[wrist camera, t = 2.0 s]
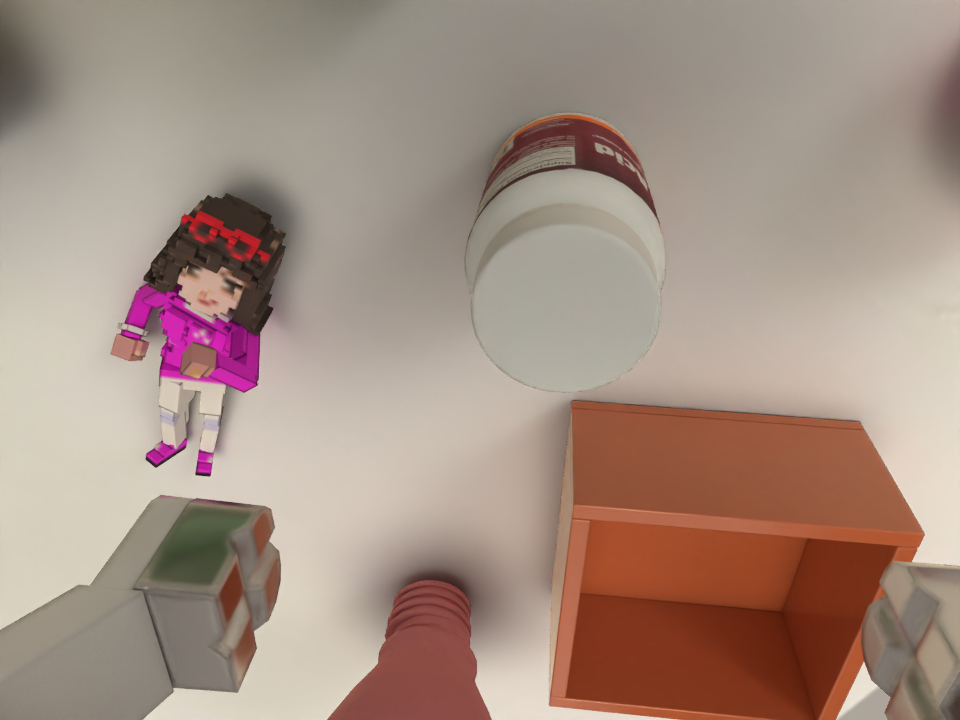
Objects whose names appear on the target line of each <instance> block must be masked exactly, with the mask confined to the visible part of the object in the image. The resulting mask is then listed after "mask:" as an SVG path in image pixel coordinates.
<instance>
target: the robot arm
mask: <svg viewBox="0 0 960 720" xmlns="http://www.w3.org/2000/svg"><path fill="white" fill-rule="evenodd" d="M274 528H275V525H274V521H273V516H272V511H271V509H270V508H268V507H266V506H260V505H251V504H242V503H233V502H224V501H215V500H207V499H198V498H196V499H190V498H182V497H173V496H165V495H160V496H159V497H157V498H155V499H154V500H152V501H151V502H150V503H149V504H148V506H147V507H146V508H145V510H144V511H143V512H142V514H141V515H140V517H139V518H138V519H137V521H136V522H135V524H134V525H133V526H132V528H131V529H130V530H129V532H128V533H127V535H126V536H125V537H124V539H123V540H122V542H121V543H120V544H119V546H118V547H117V549H116V550H115V551H114V553H113V554H112V555H111V557H110V558H109V560H108V561H107V562H106V564H105V565H104V567H103V568H102V569H101V571H100V572H99V573H98V575H97V576H96V578H95V579H94V580H93V582H92V583H91V585H90V586H88V585H78V586H76V587H74V588H72V589H71V590H69V591H67V592H65V593H64V594H62V595H60V596H58V597H57V598H55V599H53V600H52V601H50V602H48V603H46V604H45V605H43V606H41V607H39V608H38V609H36V610H34V611H32V612H31V613H29V614H27V615H26V616H24V617H22V618H20V619H19V620H17V621H15V622H13V623H12V624H10V625H8V626H7V627H5V628H3V629H1V630H0V720H142V719H144V718H145V717H146V716H147V715H148V714H149V713H150V712H151V711H152V710H154V709H155V708H156V707H157V706H158V705H159V704H160V703H161V702H163V701H164V700H165V699H166V698H167V697H168V696H169V695H170V694H172V693H173V691H174V690H173V688H185V689H198V690H211V691H223V692H236V693H238V691H239V689H240V686H241V684H242V682H243V679H244V677H245V675H246V672H247V670H248V668H249V665H250V663H251V661H252V658H253V656H254V654H255V651H256V649H257V647H256V642H255V637H254V631H255V630H256V629H257V628H259V627H260V626H261V625H263V624H264V623H265V622H267V621H268V620H269V618H270V616H271V613H272V611H273V608H274V606H275V603H276V600H277V595H278V590H279V585H280V581H281V562H280V555H279V551H278V550H277V549H276V548H275V547H274V546H273V545H272V544H271V543H270V542H269V539H270V537H271V535H272V533H273V530H274ZM879 583H880V585H881V587H882V589H883V591H884V593H885V596H883V597H882V598H880V599H878V600H877V601H875V602H874V603H872V604H870V605H869V606H868V608H867V611H866V614H865V616H864V619H863V621H862V626H861V648H862V653H863V658H864V662H865V665H866V667H867V670H868V673H869V675H870V678H871V680H872V681H873V682H874V683H875V684H876V685H878V686H879V687H880V688H881V689H882V690H883V691H884V692H885V693H886V694H888V695H889V696H890V697H891V698H890V701H889V704H888V706H887V708H886V710H885V715H886V717H887V720H960V566H953V565H940V564H928V563H915V562H902V561H893V562H892V563H891V564H890V565H888V566H887V567H886V568H885V570H884V572H883V574H882V577H881V579H880V581H879Z"/></svg>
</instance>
